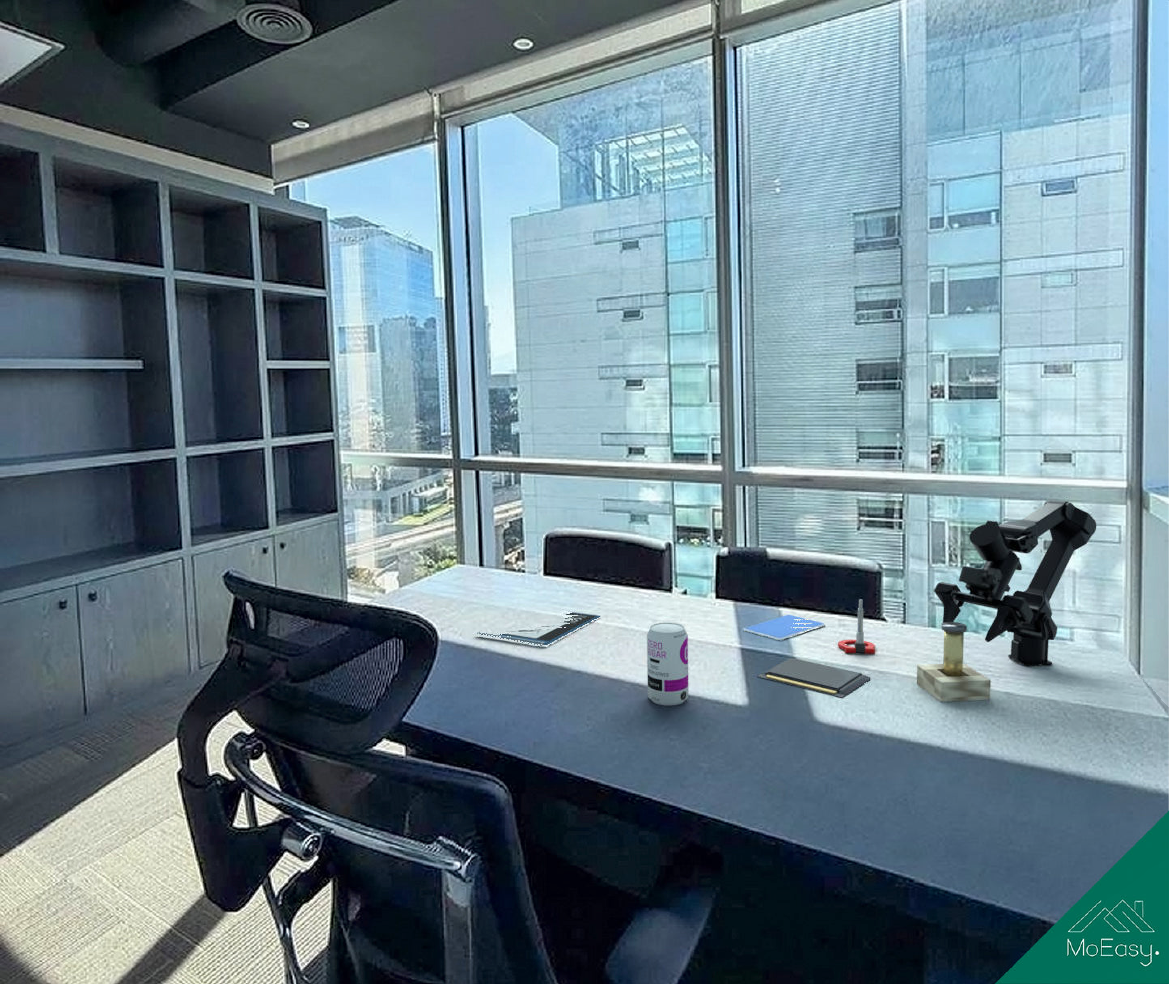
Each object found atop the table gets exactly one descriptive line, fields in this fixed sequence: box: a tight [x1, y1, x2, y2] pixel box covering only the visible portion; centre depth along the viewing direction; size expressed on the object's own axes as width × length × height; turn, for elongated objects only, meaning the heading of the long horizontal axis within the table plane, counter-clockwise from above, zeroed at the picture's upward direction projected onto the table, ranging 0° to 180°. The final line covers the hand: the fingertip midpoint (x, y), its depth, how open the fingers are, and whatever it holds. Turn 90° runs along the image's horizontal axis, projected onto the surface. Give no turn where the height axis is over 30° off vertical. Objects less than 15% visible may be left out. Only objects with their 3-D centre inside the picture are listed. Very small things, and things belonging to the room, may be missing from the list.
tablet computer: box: [742, 614, 826, 641], centre depth 206 cm, size 19×13×1 cm, turn 128°
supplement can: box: [646, 622, 689, 707], centre depth 159 cm, size 8×8×15 cm
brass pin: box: [941, 621, 968, 677], centre depth 159 cm, size 5×5×13 cm
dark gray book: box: [756, 657, 871, 699], centre depth 170 cm, size 20×2×15 cm
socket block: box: [916, 662, 992, 703], centre depth 160 cm, size 10×10×4 cm
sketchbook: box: [476, 611, 601, 646], centre depth 212 cm, size 22×30×2 cm
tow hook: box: [837, 598, 876, 655], centre depth 188 cm, size 8×13×9 cm
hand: (964, 635), depth 161 cm, fingers open, 9 cm apart
